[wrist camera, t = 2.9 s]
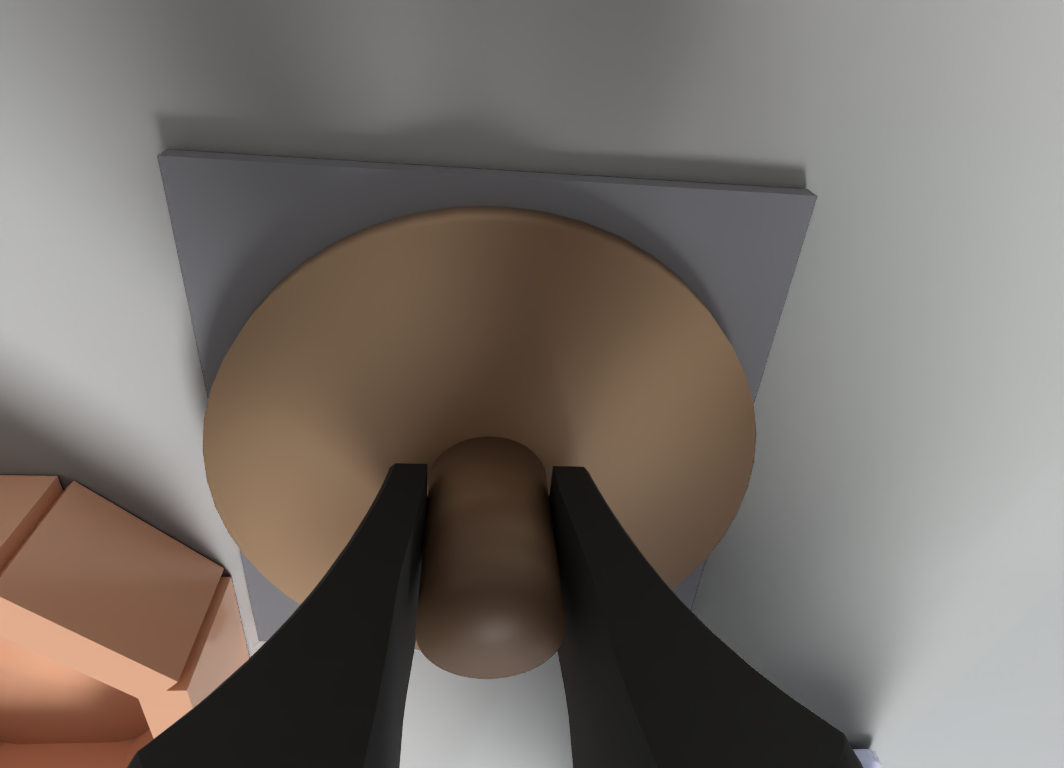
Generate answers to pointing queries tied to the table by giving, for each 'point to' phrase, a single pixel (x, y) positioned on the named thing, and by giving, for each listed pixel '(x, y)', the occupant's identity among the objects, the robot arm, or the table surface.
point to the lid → (478, 416)
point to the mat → (401, 189)
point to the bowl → (101, 628)
